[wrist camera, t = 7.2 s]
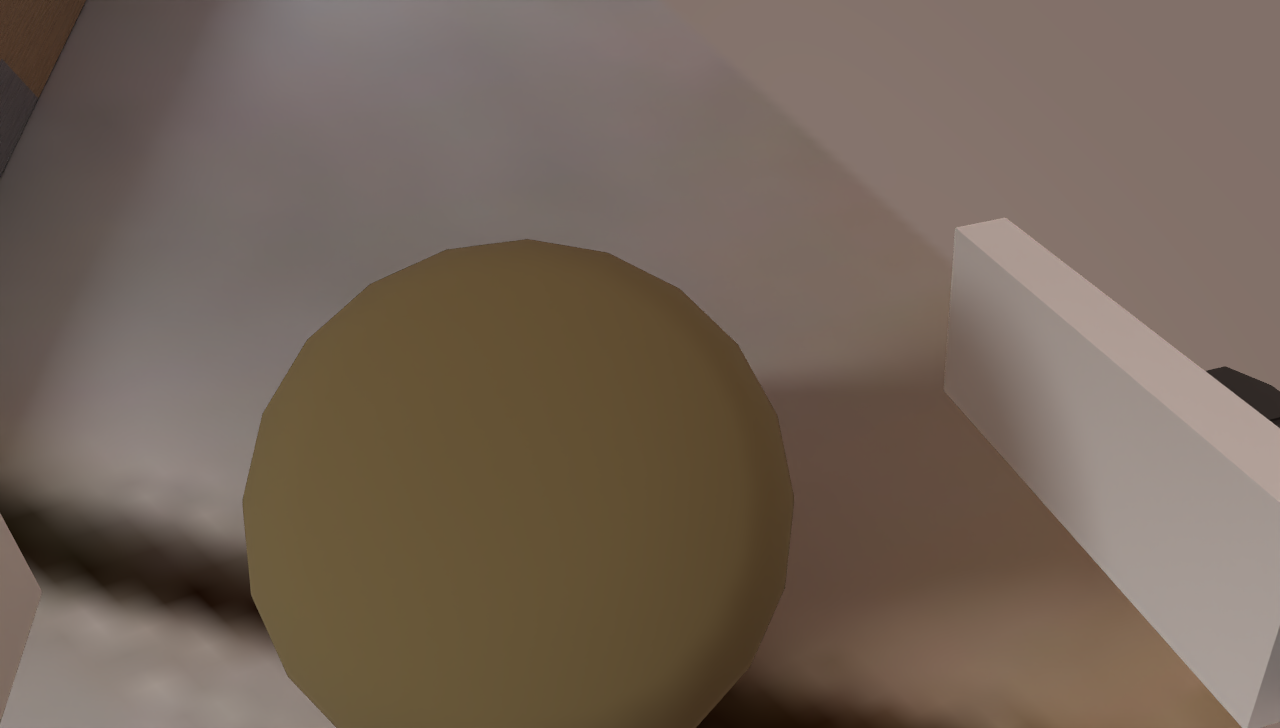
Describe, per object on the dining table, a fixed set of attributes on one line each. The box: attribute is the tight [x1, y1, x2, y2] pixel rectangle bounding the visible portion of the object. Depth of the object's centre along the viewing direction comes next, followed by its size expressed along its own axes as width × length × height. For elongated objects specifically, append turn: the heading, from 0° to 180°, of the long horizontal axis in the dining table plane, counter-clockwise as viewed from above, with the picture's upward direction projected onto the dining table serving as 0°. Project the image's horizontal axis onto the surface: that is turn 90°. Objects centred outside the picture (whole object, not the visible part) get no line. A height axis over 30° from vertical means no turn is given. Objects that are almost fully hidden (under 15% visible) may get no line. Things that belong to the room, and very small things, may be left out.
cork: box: [243, 239, 794, 728], centre depth 14 cm, size 6×6×11 cm
